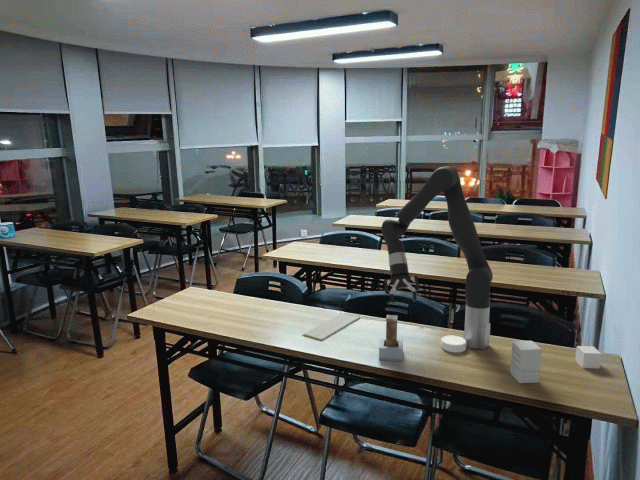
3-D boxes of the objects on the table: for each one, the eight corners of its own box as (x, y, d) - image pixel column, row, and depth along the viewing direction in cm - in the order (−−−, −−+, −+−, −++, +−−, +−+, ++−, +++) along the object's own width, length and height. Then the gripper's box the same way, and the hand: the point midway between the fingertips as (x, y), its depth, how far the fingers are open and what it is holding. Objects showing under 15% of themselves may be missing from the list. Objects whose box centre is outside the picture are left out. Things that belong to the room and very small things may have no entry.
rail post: (396, 351, 183) (397, 315, 180) (396, 355, 179) (397, 319, 176) (386, 350, 184) (386, 314, 180) (385, 354, 180) (386, 318, 176)
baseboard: (299, 335, 203) (321, 342, 196) (299, 329, 202) (321, 336, 195) (339, 314, 227) (359, 319, 220) (339, 308, 226) (359, 313, 219)
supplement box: (529, 372, 166) (532, 340, 164) (539, 383, 159) (542, 349, 156) (509, 373, 166) (511, 340, 164) (518, 383, 159) (521, 349, 156)
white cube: (575, 360, 175) (576, 345, 174) (591, 361, 174) (593, 346, 173) (582, 368, 169) (584, 353, 168) (599, 368, 169) (601, 353, 167)
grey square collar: (402, 351, 185) (402, 339, 184) (402, 361, 176) (402, 349, 175) (380, 349, 186) (380, 338, 185) (378, 359, 178) (379, 347, 177)
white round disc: (442, 352, 184) (442, 344, 183) (439, 342, 193) (439, 334, 192) (468, 353, 182) (468, 345, 181) (464, 343, 192) (464, 335, 191)
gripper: (381, 264, 192) (386, 303, 187) (415, 260, 190) (421, 298, 185) (381, 269, 199) (386, 306, 194) (415, 264, 197) (421, 302, 192)
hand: (404, 302), depth 190 cm, fingers open, 8 cm apart
